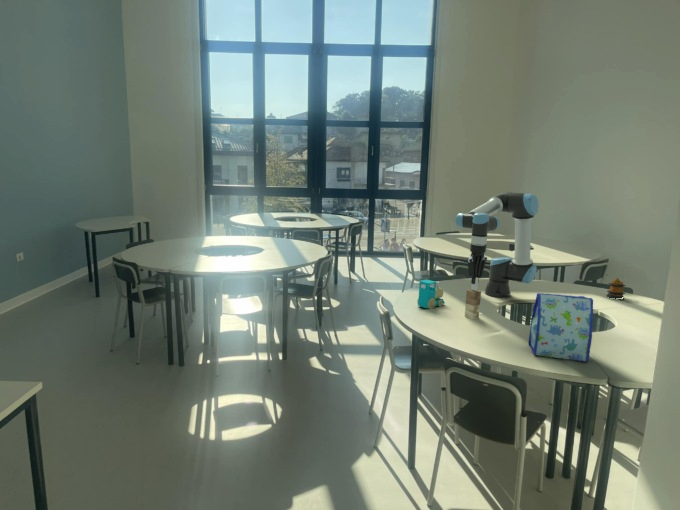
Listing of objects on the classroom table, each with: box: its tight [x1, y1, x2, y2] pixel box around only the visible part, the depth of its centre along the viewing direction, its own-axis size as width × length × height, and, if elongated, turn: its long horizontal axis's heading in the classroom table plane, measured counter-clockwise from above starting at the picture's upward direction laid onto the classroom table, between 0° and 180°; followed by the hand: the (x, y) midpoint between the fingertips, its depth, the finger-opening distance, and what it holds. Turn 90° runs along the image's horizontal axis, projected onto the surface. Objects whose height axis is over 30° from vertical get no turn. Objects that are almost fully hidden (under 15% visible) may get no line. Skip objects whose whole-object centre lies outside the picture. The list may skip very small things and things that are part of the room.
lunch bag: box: [528, 292, 594, 363], centre depth 199 cm, size 22×17×26 cm
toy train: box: [416, 279, 445, 310], centre depth 262 cm, size 8×17×15 cm, turn 133°
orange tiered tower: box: [606, 277, 627, 299], centre depth 294 cm, size 13×10×12 cm
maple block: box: [464, 303, 481, 320], centre depth 242 cm, size 5×5×7 cm
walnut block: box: [465, 288, 482, 306], centre depth 240 cm, size 5×5×7 cm
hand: (474, 289), depth 239 cm, fingers closed
